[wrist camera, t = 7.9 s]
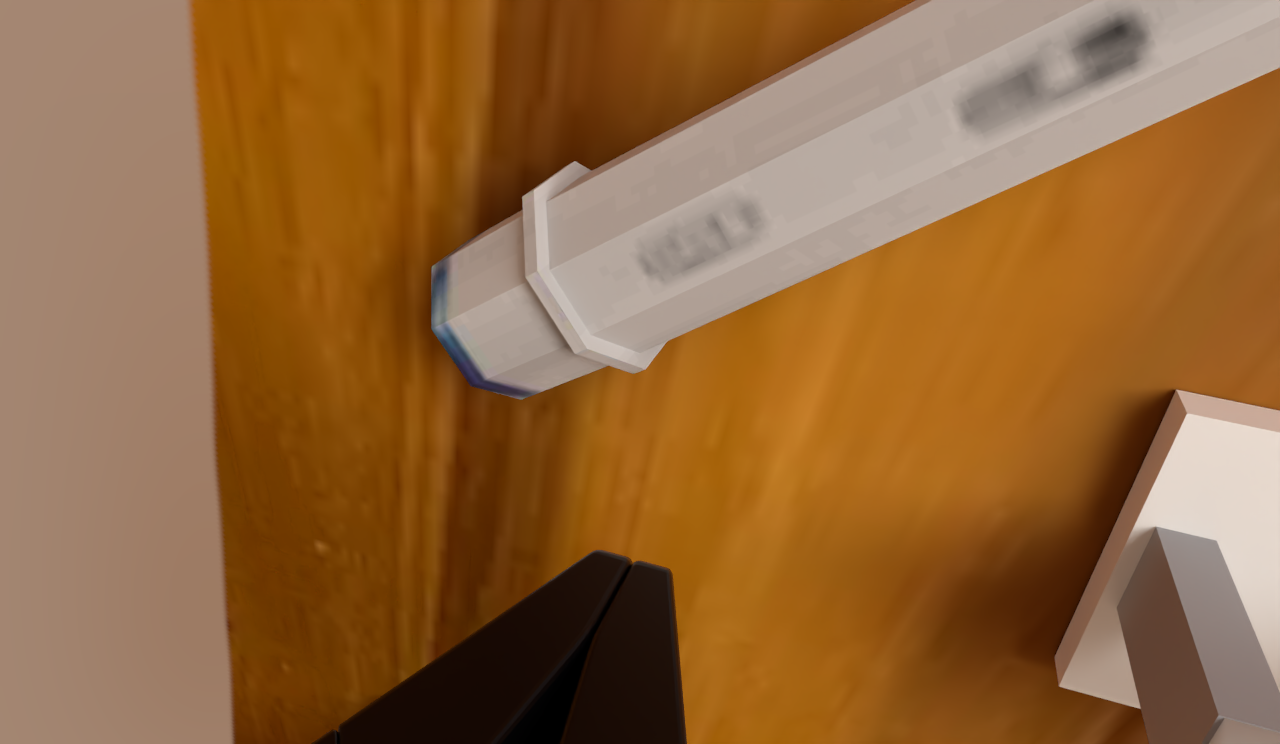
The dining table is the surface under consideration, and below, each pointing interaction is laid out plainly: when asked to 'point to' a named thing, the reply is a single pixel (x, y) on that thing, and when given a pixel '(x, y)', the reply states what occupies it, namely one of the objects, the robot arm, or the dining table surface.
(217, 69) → the dining table surface
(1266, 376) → the dining table surface
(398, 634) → the dining table surface
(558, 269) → the light grey long piece
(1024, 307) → the dining table surface
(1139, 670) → the pipe stand
